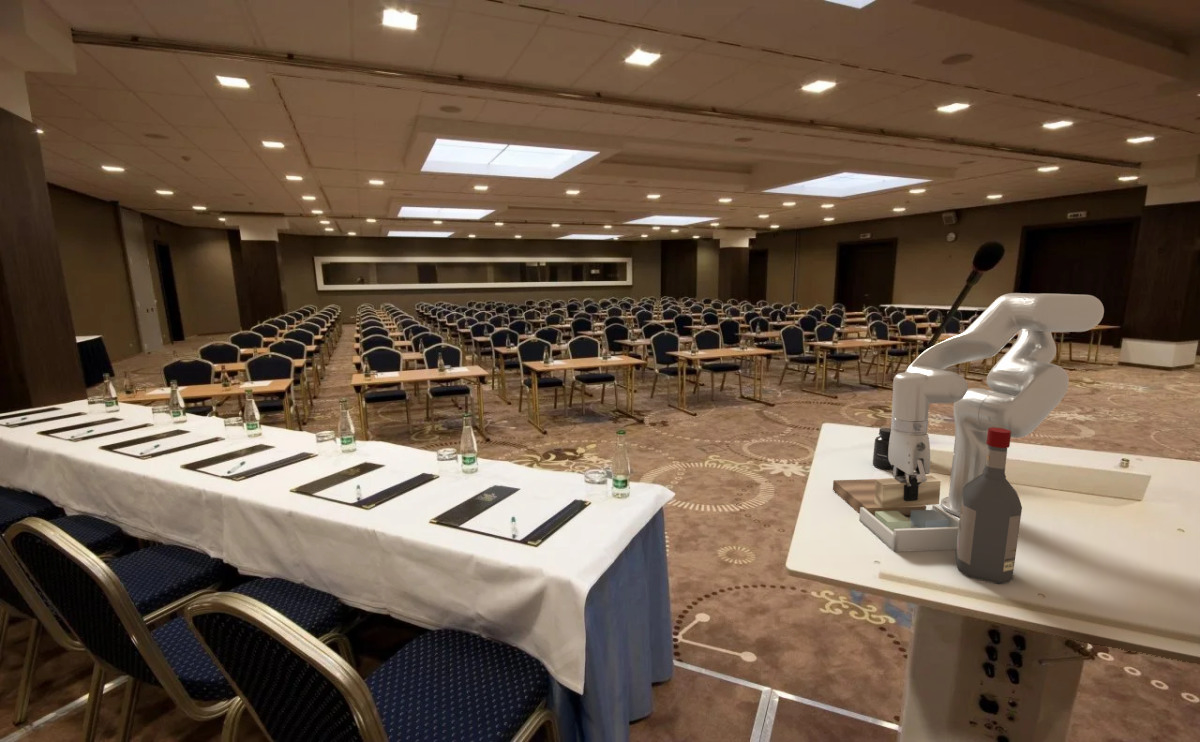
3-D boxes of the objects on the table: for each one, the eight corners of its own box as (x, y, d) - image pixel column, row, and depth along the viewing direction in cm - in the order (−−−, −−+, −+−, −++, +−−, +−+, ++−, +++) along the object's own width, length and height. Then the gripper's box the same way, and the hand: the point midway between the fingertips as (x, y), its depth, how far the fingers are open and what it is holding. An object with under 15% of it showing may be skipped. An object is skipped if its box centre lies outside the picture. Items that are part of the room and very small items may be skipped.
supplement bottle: (875, 469, 166) (878, 432, 164) (870, 462, 172) (872, 426, 170) (899, 471, 164) (903, 433, 162) (893, 463, 171) (896, 427, 169)
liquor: (956, 575, 108) (973, 433, 103) (954, 555, 116) (969, 421, 111) (1013, 588, 104) (1033, 439, 98) (1006, 566, 112) (1025, 427, 106)
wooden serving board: (925, 517, 134) (926, 506, 133) (866, 519, 133) (867, 508, 133) (885, 488, 151) (885, 478, 151) (832, 490, 151) (833, 480, 150)
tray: (978, 548, 118) (980, 527, 118) (893, 551, 118) (895, 530, 117) (934, 518, 133) (936, 499, 132) (859, 520, 133) (860, 501, 132)
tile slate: (947, 532, 125) (948, 520, 124) (924, 532, 125) (925, 520, 124) (932, 521, 130) (933, 509, 130) (910, 522, 130) (911, 510, 130)
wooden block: (939, 504, 130) (940, 478, 129) (882, 508, 130) (883, 482, 128) (929, 498, 133) (931, 473, 132) (874, 501, 133) (875, 476, 132)
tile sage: (910, 533, 125) (911, 521, 124) (886, 534, 125) (887, 522, 124) (896, 522, 130) (897, 510, 130) (874, 523, 130) (875, 511, 129)
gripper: (948, 434, 119) (942, 510, 123) (904, 414, 136) (900, 482, 139) (914, 436, 119) (910, 513, 123) (874, 416, 136) (872, 484, 139)
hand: (905, 495), depth 131 cm, fingers closed on wooden block, 3 cm apart
